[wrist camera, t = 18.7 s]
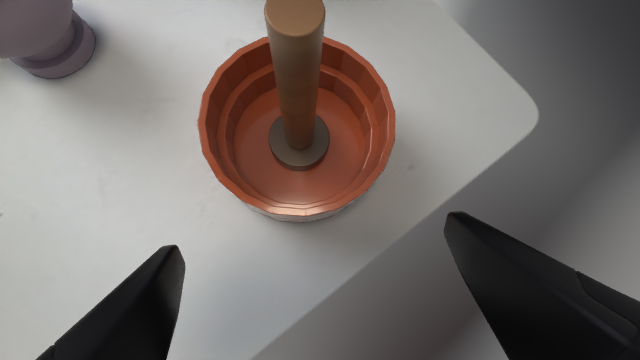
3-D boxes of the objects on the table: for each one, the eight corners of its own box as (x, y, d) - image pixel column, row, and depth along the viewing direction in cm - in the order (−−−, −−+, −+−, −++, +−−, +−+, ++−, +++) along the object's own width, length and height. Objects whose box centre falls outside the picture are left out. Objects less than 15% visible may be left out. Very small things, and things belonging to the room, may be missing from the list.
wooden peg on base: (321, 177, 23) (346, 83, 10) (263, 163, 23) (208, 50, 10) (334, 123, 25) (372, -28, 11) (278, 110, 24) (248, -58, 11)
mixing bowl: (405, 139, 25) (432, 110, 20) (307, 256, 23) (309, 260, 17) (292, 50, 27) (290, 1, 21) (188, 152, 24) (155, 125, 19)
